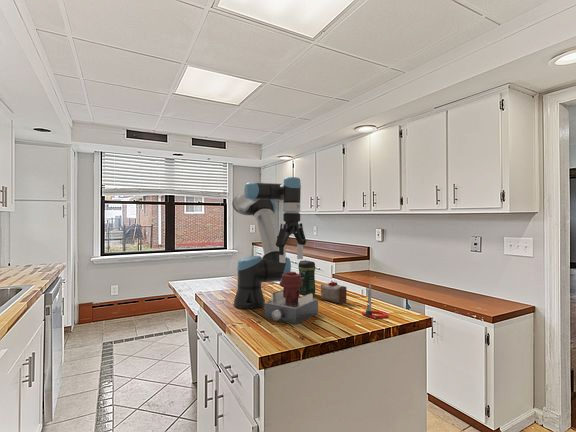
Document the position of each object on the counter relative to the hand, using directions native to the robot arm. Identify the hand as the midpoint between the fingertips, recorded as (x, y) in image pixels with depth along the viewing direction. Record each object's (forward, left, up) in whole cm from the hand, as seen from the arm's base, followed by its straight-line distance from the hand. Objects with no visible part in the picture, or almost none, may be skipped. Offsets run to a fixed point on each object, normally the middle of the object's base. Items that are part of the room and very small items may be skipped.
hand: (291, 260), depth 144 cm
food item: (+4, +32, -24) cm, 40 cm away
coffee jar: (-15, +37, -24) cm, 47 cm away
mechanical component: (+1, -2, -17) cm, 17 cm away
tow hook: (+31, +19, -24) cm, 44 cm away
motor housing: (+1, -3, -24) cm, 24 cm away
